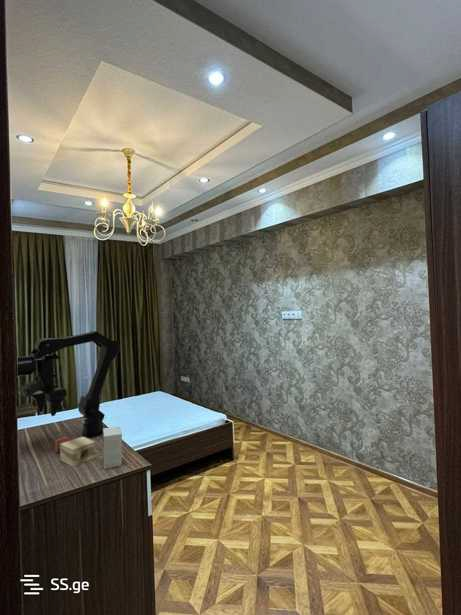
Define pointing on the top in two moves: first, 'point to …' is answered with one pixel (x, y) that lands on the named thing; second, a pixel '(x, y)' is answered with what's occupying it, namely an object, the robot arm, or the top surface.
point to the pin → (62, 440)
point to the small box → (112, 447)
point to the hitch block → (77, 451)
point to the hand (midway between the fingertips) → (46, 413)
